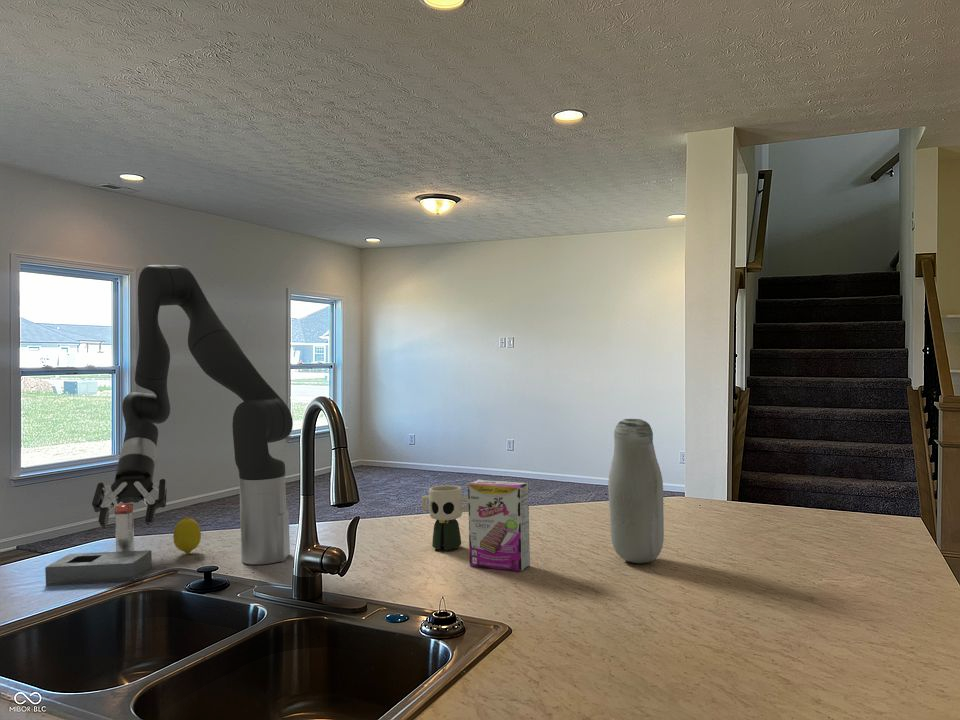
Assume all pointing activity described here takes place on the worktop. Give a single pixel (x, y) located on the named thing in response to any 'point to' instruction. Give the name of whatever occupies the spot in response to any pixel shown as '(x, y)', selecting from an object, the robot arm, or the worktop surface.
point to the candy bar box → (499, 525)
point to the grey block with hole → (98, 567)
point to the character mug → (445, 514)
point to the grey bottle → (635, 493)
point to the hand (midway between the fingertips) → (125, 524)
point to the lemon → (187, 535)
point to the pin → (124, 527)
